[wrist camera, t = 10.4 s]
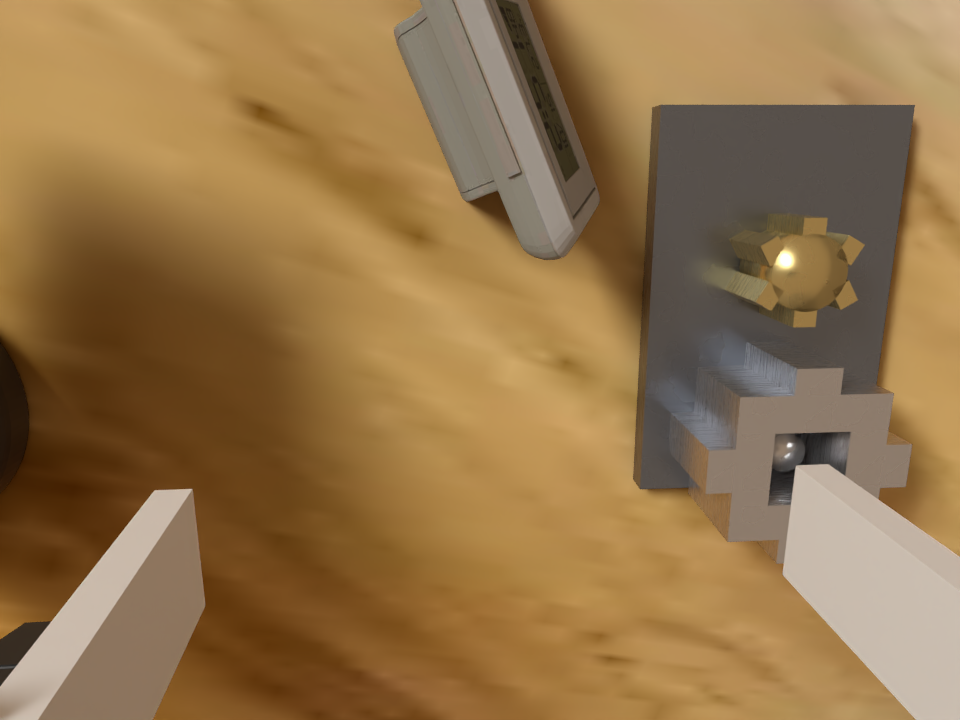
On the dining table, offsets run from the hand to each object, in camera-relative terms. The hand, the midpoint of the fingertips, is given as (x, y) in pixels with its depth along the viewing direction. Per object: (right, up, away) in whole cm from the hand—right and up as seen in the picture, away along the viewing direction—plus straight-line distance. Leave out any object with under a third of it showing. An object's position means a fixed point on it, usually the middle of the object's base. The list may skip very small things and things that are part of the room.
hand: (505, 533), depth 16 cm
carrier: (+16, +7, +27) cm, 32 cm away
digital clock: (+1, +18, +24) cm, 30 cm away
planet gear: (+16, 0, +28) cm, 32 cm away
